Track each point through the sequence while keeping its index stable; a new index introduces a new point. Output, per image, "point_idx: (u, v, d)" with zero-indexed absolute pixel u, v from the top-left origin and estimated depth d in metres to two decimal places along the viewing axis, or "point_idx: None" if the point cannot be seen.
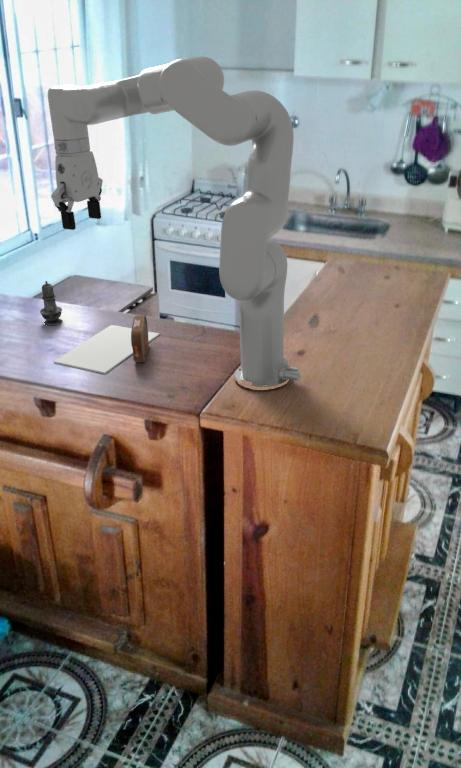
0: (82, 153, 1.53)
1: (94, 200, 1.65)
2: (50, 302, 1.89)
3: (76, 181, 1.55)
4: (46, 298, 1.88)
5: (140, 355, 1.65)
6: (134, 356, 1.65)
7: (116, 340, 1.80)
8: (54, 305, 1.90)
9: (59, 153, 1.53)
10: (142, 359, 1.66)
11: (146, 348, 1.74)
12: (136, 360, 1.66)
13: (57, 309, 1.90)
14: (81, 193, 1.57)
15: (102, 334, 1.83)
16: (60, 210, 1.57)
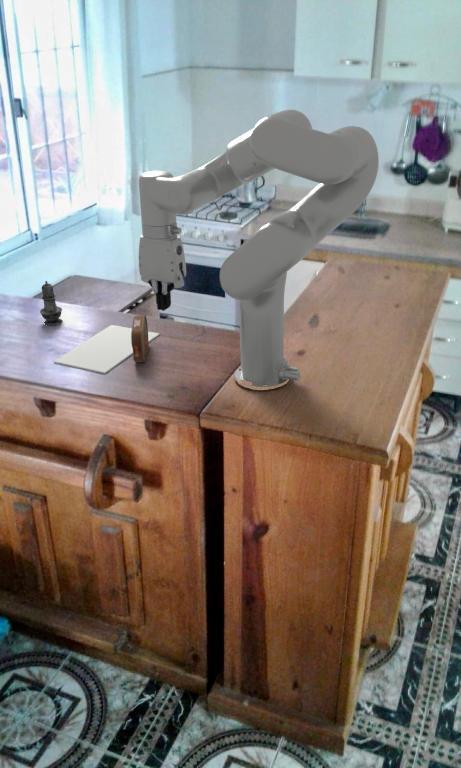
0: None
1: None
2: (50, 302, 1.89)
3: None
4: (46, 298, 1.88)
5: (140, 355, 1.65)
6: (134, 356, 1.65)
7: (116, 340, 1.80)
8: (54, 305, 1.90)
9: (172, 237, 1.53)
10: (142, 359, 1.66)
11: (146, 348, 1.74)
12: (136, 360, 1.66)
13: (57, 309, 1.90)
14: None
15: (102, 334, 1.83)
16: (167, 292, 1.60)
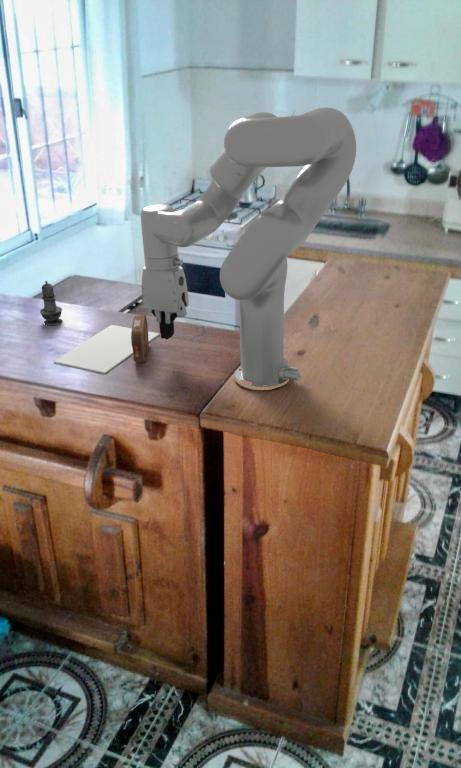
0: None
1: None
2: (50, 302, 1.89)
3: None
4: (46, 298, 1.88)
5: (140, 355, 1.65)
6: (134, 356, 1.65)
7: (116, 340, 1.80)
8: (54, 305, 1.90)
9: (174, 268, 1.56)
10: (142, 359, 1.66)
11: (146, 348, 1.74)
12: (136, 360, 1.66)
13: (57, 309, 1.90)
14: None
15: (102, 334, 1.83)
16: (171, 321, 1.63)
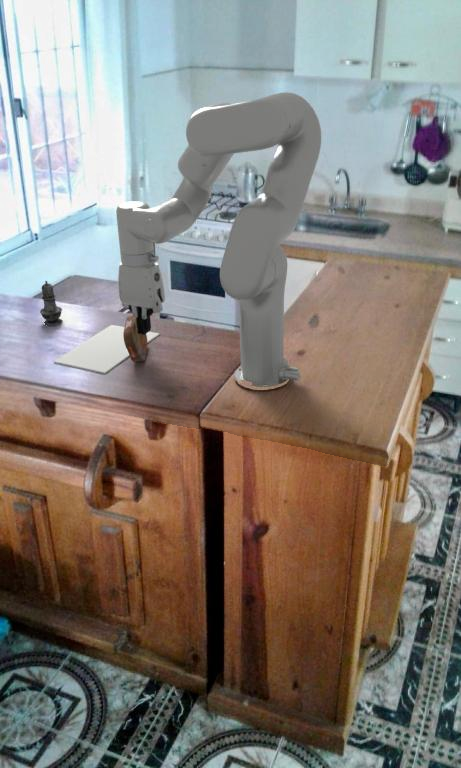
0: None
1: None
2: (50, 302, 1.89)
3: None
4: (46, 298, 1.88)
5: (136, 354, 1.65)
6: (131, 357, 1.65)
7: (116, 340, 1.80)
8: (54, 305, 1.90)
9: (149, 265, 1.59)
10: (140, 358, 1.66)
11: (145, 346, 1.74)
12: (134, 360, 1.66)
13: (57, 309, 1.90)
14: None
15: (102, 334, 1.83)
16: (147, 317, 1.66)
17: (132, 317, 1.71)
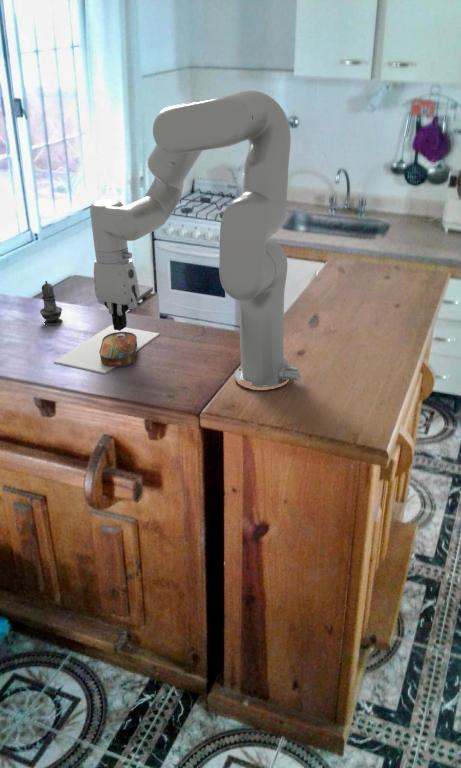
0: None
1: None
2: (50, 302, 1.89)
3: None
4: (46, 298, 1.88)
5: (118, 360, 1.65)
6: (120, 365, 1.66)
7: None
8: (54, 305, 1.90)
9: (123, 261, 1.62)
10: (125, 357, 1.66)
11: (134, 341, 1.73)
12: (127, 362, 1.67)
13: (57, 309, 1.90)
14: None
15: (102, 334, 1.83)
16: (122, 313, 1.69)
17: None
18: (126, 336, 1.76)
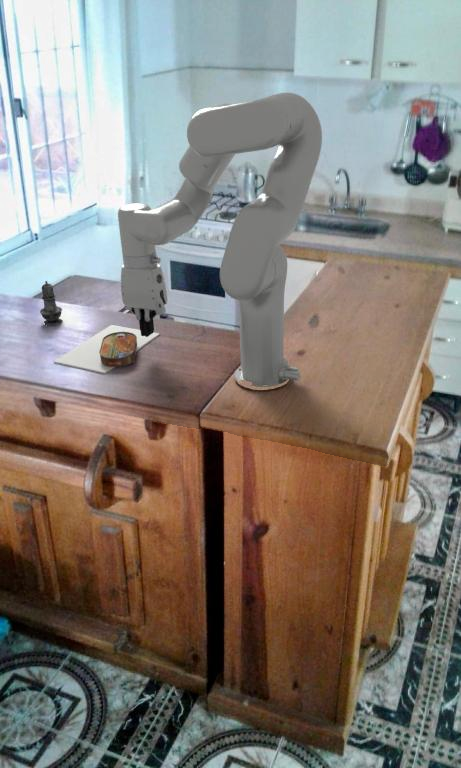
0: None
1: None
2: (50, 302, 1.89)
3: None
4: (46, 298, 1.88)
5: (118, 360, 1.65)
6: (120, 365, 1.66)
7: None
8: (54, 305, 1.90)
9: (151, 266, 1.59)
10: (125, 357, 1.66)
11: (134, 341, 1.73)
12: (127, 362, 1.67)
13: (57, 309, 1.90)
14: None
15: (102, 334, 1.83)
16: (150, 319, 1.66)
17: None
18: (126, 336, 1.76)
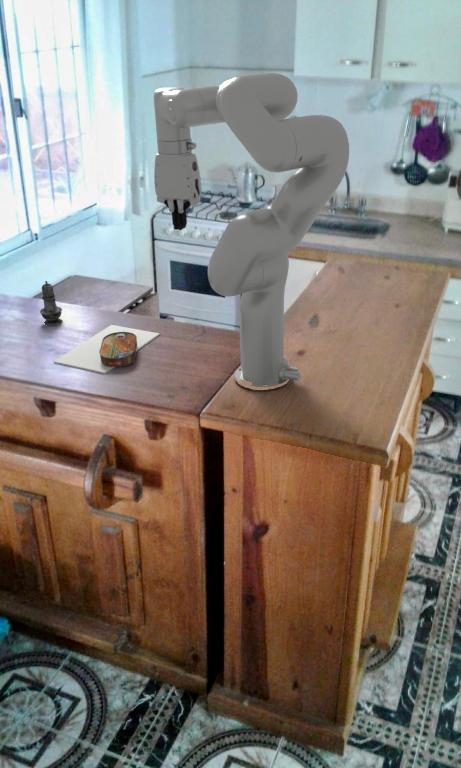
0: None
1: None
2: (50, 302, 1.89)
3: None
4: (46, 298, 1.88)
5: (118, 360, 1.65)
6: (120, 365, 1.66)
7: None
8: (54, 305, 1.90)
9: (187, 153, 1.57)
10: (125, 357, 1.66)
11: (134, 341, 1.73)
12: (127, 362, 1.67)
13: (57, 309, 1.90)
14: None
15: (102, 334, 1.83)
16: (184, 211, 1.63)
17: None
18: (126, 336, 1.76)
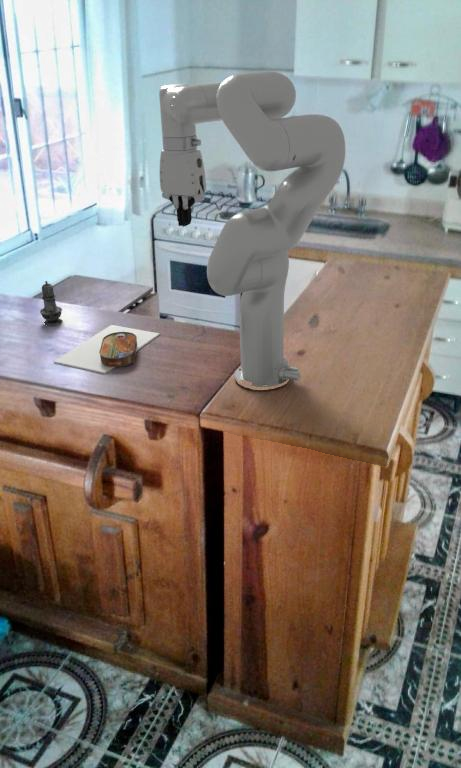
0: None
1: None
2: (50, 302, 1.89)
3: None
4: (46, 298, 1.88)
5: (118, 360, 1.65)
6: (120, 365, 1.66)
7: None
8: (54, 305, 1.90)
9: (192, 149, 1.57)
10: (125, 357, 1.66)
11: (134, 341, 1.73)
12: (127, 362, 1.67)
13: (57, 309, 1.90)
14: None
15: (102, 334, 1.83)
16: (188, 207, 1.64)
17: None
18: (126, 336, 1.76)
